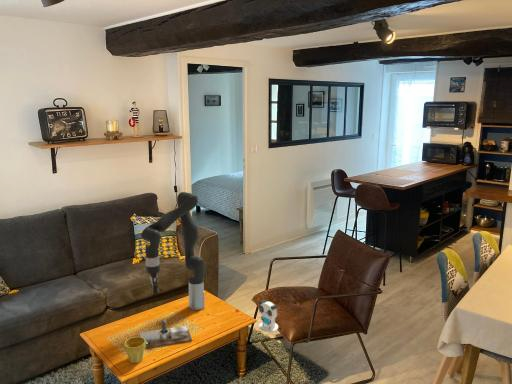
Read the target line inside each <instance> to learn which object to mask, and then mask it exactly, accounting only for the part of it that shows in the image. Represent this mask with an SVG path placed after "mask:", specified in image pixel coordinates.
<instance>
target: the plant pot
mask: <svg viewBox="0 0 512 384" xmlns="http://www.w3.org/2000/svg"><path fill="white" fill-rule="evenodd" d="M123 345H124V347H123V348H124V351H125V352H126V355H127V358H128V360H129V362H130V363H131V364H138V363H141V362H142V361H143V360H144V353H145V347H146V341H145V339H144V338H142V337H140V336H133V337H130V338H128V339H126V340H125V342H124V344H123Z"/></svg>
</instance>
